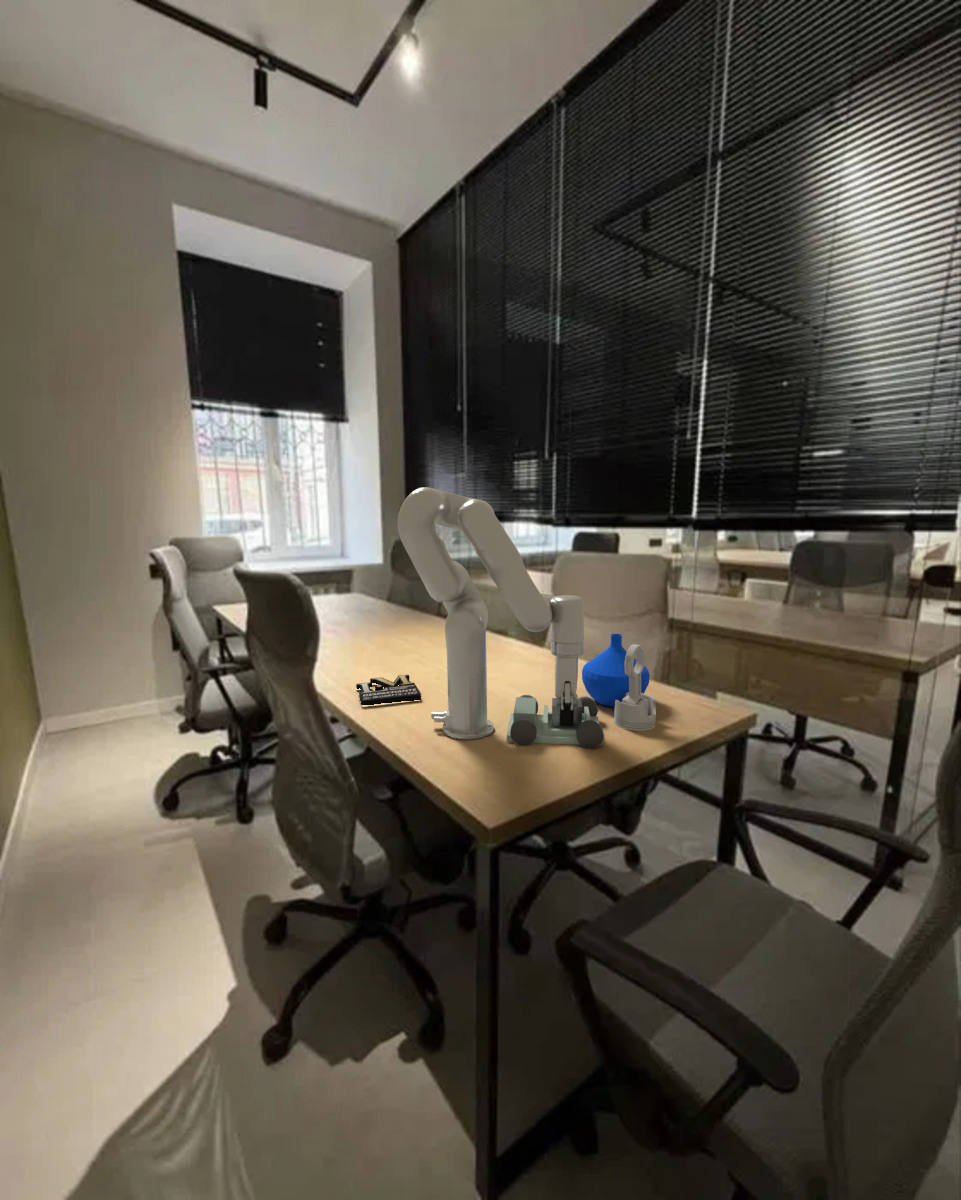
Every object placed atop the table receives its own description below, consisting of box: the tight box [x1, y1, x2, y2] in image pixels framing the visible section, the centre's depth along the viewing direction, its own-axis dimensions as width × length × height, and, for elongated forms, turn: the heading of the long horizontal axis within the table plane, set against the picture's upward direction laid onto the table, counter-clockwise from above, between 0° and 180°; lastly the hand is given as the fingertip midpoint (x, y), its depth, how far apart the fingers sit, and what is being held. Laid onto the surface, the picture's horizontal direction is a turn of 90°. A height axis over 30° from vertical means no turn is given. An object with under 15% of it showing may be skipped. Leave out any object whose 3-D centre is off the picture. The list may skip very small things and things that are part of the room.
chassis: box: [506, 694, 605, 749], centre depth 134 cm, size 22×18×6 cm
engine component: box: [613, 643, 657, 732], centre depth 137 cm, size 11×20×10 cm
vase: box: [581, 633, 650, 708], centre depth 153 cm, size 18×18×19 cm
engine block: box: [551, 693, 582, 727], centre depth 133 cm, size 7×6×6 cm
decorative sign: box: [355, 674, 422, 706], centre depth 164 cm, size 17×2×20 cm
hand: (566, 719), depth 133 cm, fingers closed on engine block, 5 cm apart
